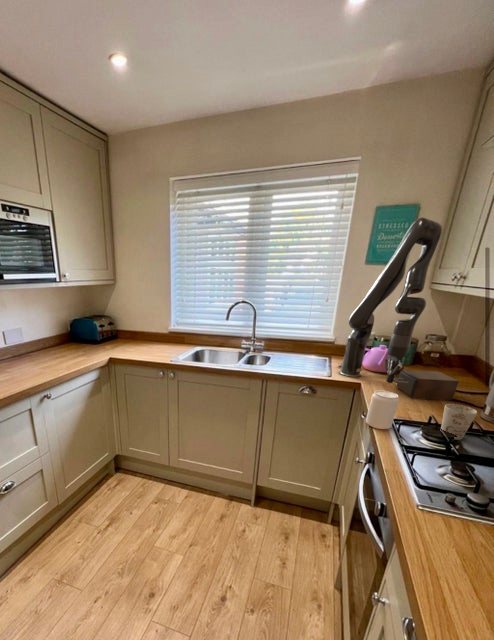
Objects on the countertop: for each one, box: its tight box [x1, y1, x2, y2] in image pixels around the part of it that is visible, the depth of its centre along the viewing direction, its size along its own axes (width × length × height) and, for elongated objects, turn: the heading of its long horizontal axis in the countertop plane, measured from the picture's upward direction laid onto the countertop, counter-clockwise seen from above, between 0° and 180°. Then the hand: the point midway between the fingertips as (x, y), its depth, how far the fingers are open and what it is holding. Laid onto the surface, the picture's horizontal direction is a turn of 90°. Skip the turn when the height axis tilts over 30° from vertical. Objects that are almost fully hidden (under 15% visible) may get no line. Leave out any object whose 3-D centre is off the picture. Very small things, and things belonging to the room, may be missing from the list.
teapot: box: [362, 344, 390, 373], centre depth 181 cm, size 22×22×14 cm
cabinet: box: [398, 369, 460, 401], centre depth 149 cm, size 16×14×9 cm
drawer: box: [392, 371, 417, 396], centre depth 149 cm, size 21×12×7 cm, turn 83°
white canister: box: [365, 390, 400, 430], centre depth 116 cm, size 8×8×12 cm
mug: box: [440, 403, 478, 441], centre depth 111 cm, size 8×13×10 cm, turn 135°
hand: (389, 382), depth 150 cm, fingers closed
